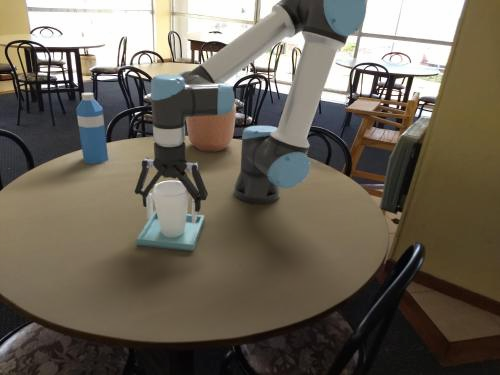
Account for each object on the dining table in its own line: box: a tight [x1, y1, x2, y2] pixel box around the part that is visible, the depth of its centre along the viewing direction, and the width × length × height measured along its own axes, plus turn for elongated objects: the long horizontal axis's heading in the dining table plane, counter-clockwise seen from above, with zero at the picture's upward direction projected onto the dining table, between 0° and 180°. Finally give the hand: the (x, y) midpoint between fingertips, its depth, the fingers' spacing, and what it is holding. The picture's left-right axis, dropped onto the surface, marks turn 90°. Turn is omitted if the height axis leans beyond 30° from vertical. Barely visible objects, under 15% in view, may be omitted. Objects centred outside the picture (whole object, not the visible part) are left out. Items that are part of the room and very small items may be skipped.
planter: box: [185, 102, 237, 153], centre depth 159 cm, size 21×21×19 cm
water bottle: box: [76, 92, 109, 165], centre depth 138 cm, size 9×9×25 cm
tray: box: [136, 210, 205, 252], centre depth 102 cm, size 15×15×2 cm
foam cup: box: [151, 179, 191, 237], centre depth 99 cm, size 10×9×13 cm
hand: (172, 219), depth 100 cm, fingers open, 11 cm apart
